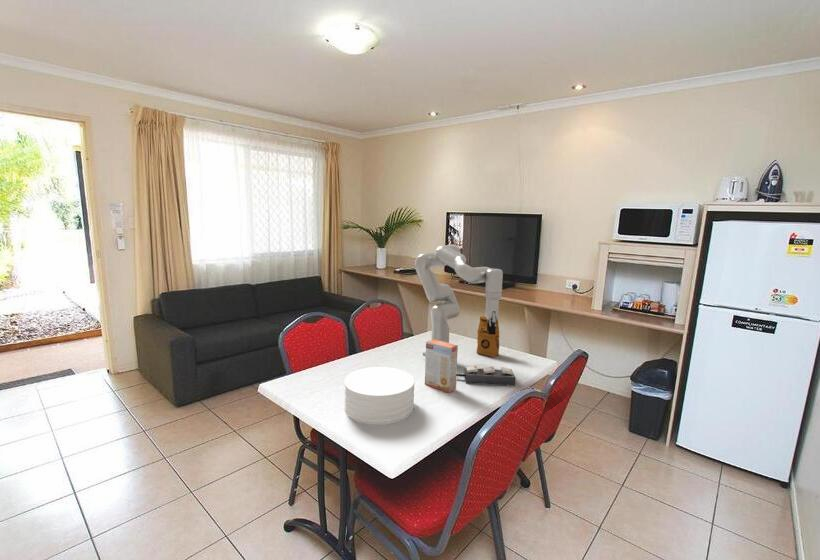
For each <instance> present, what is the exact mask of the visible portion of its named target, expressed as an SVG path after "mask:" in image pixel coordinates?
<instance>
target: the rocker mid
mask: <svg viewBox="0 0 820 560" xmlns="http://www.w3.org/2000/svg"><path fill="white" fill-rule="evenodd" d="M482 369H483V371H484V373H491V372H495V370H496V369H495V367H494V366H487V367H483V368H482Z"/></svg>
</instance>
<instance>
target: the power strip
mask: <svg viewBox="0 0 820 560" xmlns="http://www.w3.org/2000/svg"><path fill="white" fill-rule="evenodd" d="M456 377H463V378H464V382H465V384H473V385H475V384H476V385H493V386H513V387H516V379H517V377H516V376H515V373H514V372H513V375H511V374H507V373H503V372H502V370H501V369H495V372H491V373H484V371H483V368H478V371H475V372H468V373H467V368H466V367H464V372H463V373H457V376H456Z"/></svg>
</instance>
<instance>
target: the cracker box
mask: <svg viewBox="0 0 820 560" xmlns="http://www.w3.org/2000/svg"><path fill="white" fill-rule="evenodd" d="M458 347H459V346H458V345H457V344H454V343H450V342H449V343H446V342H443V341H439V340H435V339H432V340H431V339H429V340H427V341H425V352H426V357H425V360H424V361H425V365H424V367H425V370H424V385H426V386H429V387H432V388H434V389H436V390H437V389H438V390H439V391H440V390H441V391H443V392H445V393H451V392H454V391H455V390H456V389H457V377H458V376H457V374H458V372H457V371H458V349H459V348H458Z"/></svg>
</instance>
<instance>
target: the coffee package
mask: <svg viewBox="0 0 820 560" xmlns="http://www.w3.org/2000/svg"><path fill="white" fill-rule="evenodd" d="M487 323H488V320H487V318H486V317H485V315H484V316H482V315H480V316H479V323H478V328H477V345H476V354H479V355H484V356H486V357H490V356H491V358H496V357H497V355H498V356H499V352H500V327H499V319H498V320H496V333H495V335H491V334H488V332H489V331H487ZM495 356H496V357H495Z"/></svg>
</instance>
